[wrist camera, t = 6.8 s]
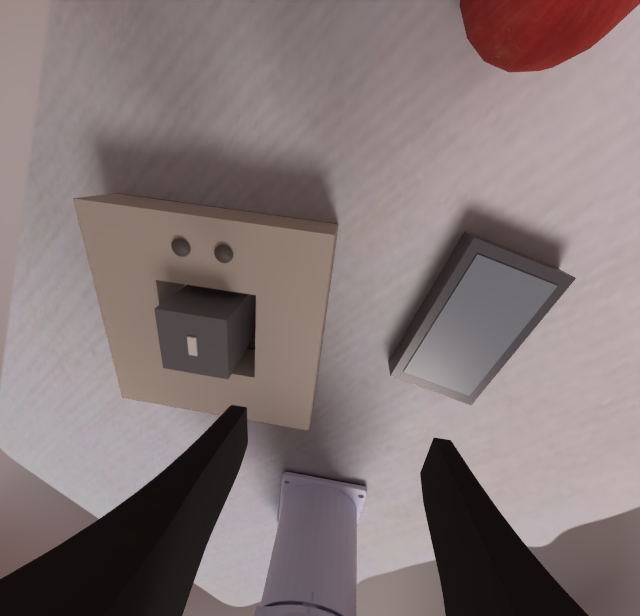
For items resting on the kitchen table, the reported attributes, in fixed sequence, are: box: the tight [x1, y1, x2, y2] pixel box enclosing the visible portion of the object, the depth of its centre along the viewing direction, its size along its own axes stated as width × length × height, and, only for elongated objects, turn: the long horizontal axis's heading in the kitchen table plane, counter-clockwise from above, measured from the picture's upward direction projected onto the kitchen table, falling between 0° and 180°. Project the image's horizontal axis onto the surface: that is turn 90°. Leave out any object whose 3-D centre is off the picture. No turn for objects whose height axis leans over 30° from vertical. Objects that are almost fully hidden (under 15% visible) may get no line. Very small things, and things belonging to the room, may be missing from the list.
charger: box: [154, 285, 256, 379], centre depth 19 cm, size 4×4×5 cm
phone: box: [388, 232, 576, 405], centre depth 19 cm, size 10×6×2 cm, turn 160°
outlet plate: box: [73, 194, 338, 431], centre depth 20 cm, size 14×14×3 cm
